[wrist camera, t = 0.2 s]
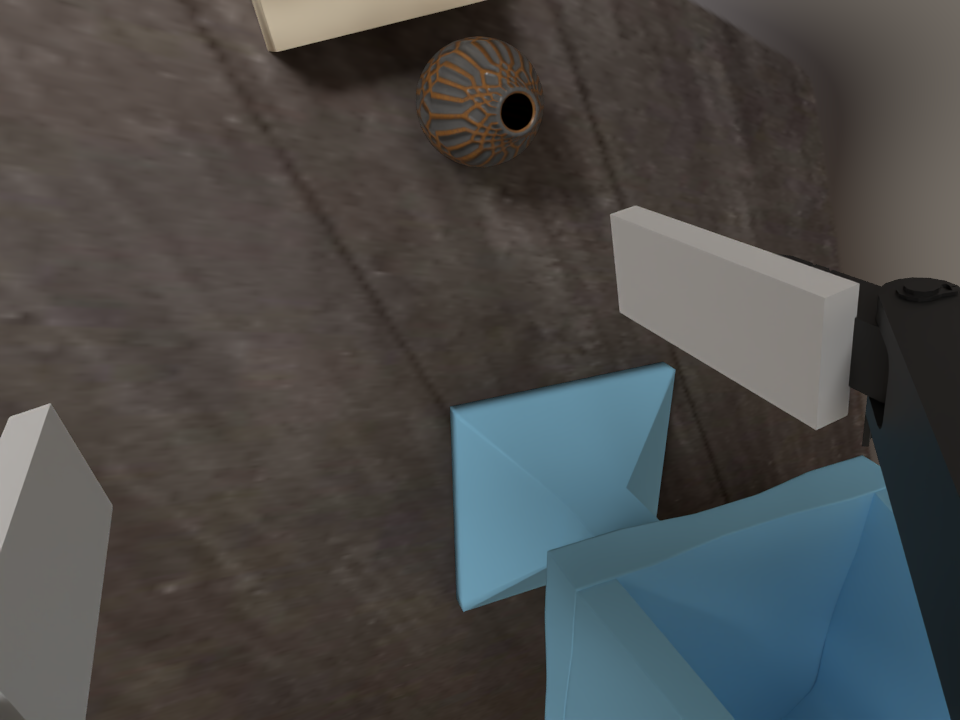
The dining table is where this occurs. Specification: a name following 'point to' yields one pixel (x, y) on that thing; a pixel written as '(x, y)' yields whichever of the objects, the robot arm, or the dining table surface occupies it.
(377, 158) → the dining table surface
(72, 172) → the dining table surface
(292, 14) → the stepped riser
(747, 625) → the vase
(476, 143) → the vase
